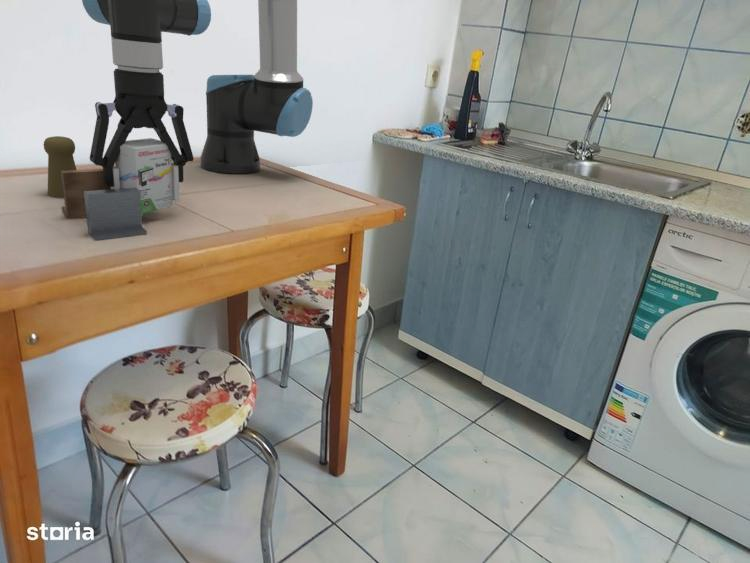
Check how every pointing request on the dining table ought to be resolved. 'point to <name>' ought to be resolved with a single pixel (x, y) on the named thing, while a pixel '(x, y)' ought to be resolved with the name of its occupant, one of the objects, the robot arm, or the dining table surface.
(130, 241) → the dining table surface
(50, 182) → the cork
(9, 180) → the dining table surface
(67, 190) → the brown boxy piece
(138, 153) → the ink box
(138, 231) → the bookend
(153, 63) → the robot arm
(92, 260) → the dining table surface
